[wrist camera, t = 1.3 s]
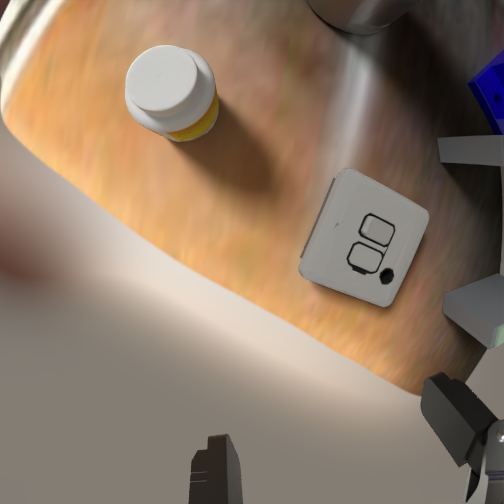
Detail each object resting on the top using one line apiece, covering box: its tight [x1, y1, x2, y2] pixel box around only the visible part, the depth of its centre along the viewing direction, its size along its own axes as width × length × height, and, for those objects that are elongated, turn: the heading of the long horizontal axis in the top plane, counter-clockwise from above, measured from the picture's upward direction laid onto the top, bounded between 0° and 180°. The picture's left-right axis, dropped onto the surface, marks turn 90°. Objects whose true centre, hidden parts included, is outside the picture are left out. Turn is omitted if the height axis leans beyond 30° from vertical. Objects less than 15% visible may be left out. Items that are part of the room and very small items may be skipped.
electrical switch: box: [298, 168, 429, 307], centre depth 25 cm, size 9×5×9 cm
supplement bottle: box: [125, 45, 219, 142], centre depth 19 cm, size 6×6×10 cm
